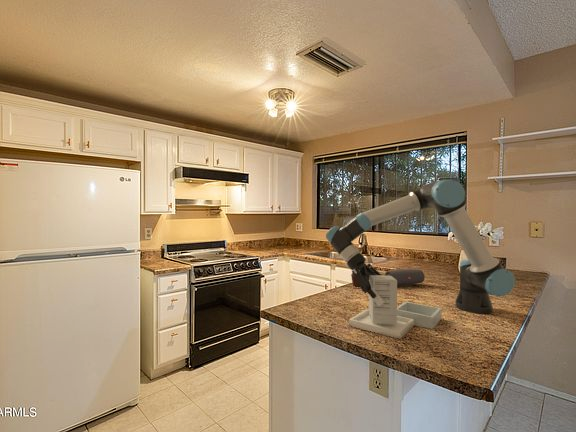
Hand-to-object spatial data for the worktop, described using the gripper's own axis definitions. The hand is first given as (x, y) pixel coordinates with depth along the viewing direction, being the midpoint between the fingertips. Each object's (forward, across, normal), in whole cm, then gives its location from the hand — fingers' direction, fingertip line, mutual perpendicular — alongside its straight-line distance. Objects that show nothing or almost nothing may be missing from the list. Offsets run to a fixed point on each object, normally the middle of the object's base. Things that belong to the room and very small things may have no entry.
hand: (388, 300), depth 119 cm
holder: (+12, -17, -3) cm, 21 cm away
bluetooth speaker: (-5, -75, -20) cm, 78 cm away
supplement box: (+4, 0, -7) cm, 8 cm away
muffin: (-19, -55, -34) cm, 67 cm away
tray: (+6, 0, -9) cm, 11 cm away
